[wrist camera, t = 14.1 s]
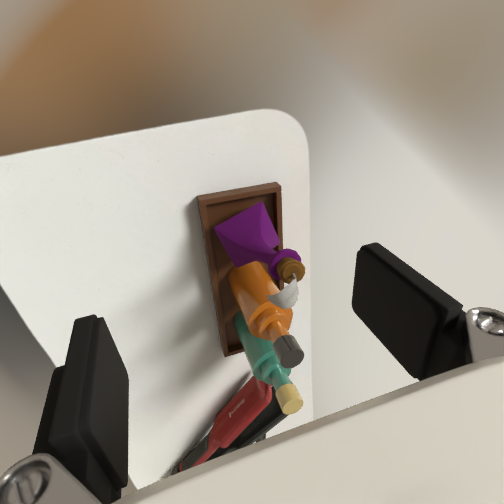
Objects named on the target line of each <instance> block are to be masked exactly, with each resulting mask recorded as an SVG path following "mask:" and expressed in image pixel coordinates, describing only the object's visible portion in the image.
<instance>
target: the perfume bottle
mask: <svg viewBox="0 0 504 504" xmlns="http://www.w3.org/2000/svg"><path fill="white" fill-rule="evenodd" d="M214 231H215V232H216V234H217V236H218V238H219V239H220V241H221V243H222V245H223V246H224V248H225V250H226V251H227V253H228V255H229V257H230V258H231V260H232V262H233V264H234V265H235V267H236V268H238V267H241V266H243V265H246V264H248V263H251V262H254V261H260V262H263V263H266V264H268V272H269V273H270V274H271V276H272V277H273V278H274V279H278V280H281V281H283V282H285V283H288V284H289V285H288V286H286V287H285V288H284V289H283V290H281V291H280V292H278V293H276V294H274V295H267V297H268V300H269V301H270V302H271V303H272V304H274V305H276V306H278V307H279V308H283V309H288V308H291V307H292V306H294V305H295V303H296V301H297V300H298V294H299V290H298V285H297V282H298V281H300V280H301V279H302V278H303V276H304V274H305V267H304V265H303V264H302V263H301V258H300V256H299V255H298V253H297V252H296V251H294V250H291V249H283V250H279V251H278V252H276V251H275V250H273V248H274V247H276V246H278V245H279V244H280V240H279V238H278V236H277V234H276V231H275V229H274V227H273V225H272V222H271V220H270V218H269V216H268V213H267V211H266V209H265V207H264V204H263V202H259V203H257V204H255V205H253V206H251V207H250V208H248V209H246V210H244V211H242V212H241V213H239V214H237V215H235V216H233V217H232V218H230V219H228V220H226V221H224V222H223V223H221V224H219V225H217V226H215V227H214Z"/></svg>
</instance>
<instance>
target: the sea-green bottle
mask: <svg viewBox="0 0 504 504" xmlns="http://www.w3.org/2000/svg"><path fill="white" fill-rule="evenodd" d="M234 327H235V329H236V332H237V334H238V337H239V340H240V342H241V345H242V347H243V350H244V352H245V355H246V357H247V360H248V362H249V365H250V367H251V370H252V372H253V375H254V377H255V378H256V379H258V380H260V381H264V382H265V383H266V384H269V385H273V386H274V388H275V391H276V394H275V396H276V398H277V401H278V403H279V405H280V407H281V410H282V412H283V413H284V414H293V413H295V412H297V411H298V410H300V409H301V407H302V406H303V400H302V398H301V396H300V394H299V392H298V390H297V389H296V387H295V385H294V384H291V382H290V380H289V378H288V376H289V375H290V373H291V368H283V367H282V366H281V364H280V362H279V360H278V358H277V356H276V354H275V352H274V350H273V343H272V341H268V340H264V339H262V338H257V337H255V336H254V335H252V334H251V333H250V331H249V329H248V327H247V324H246V322H245V320H244V318H243V316H242V313H241V311H240V310H239V311H238V312H237V314H236V315H235V317H234Z"/></svg>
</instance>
